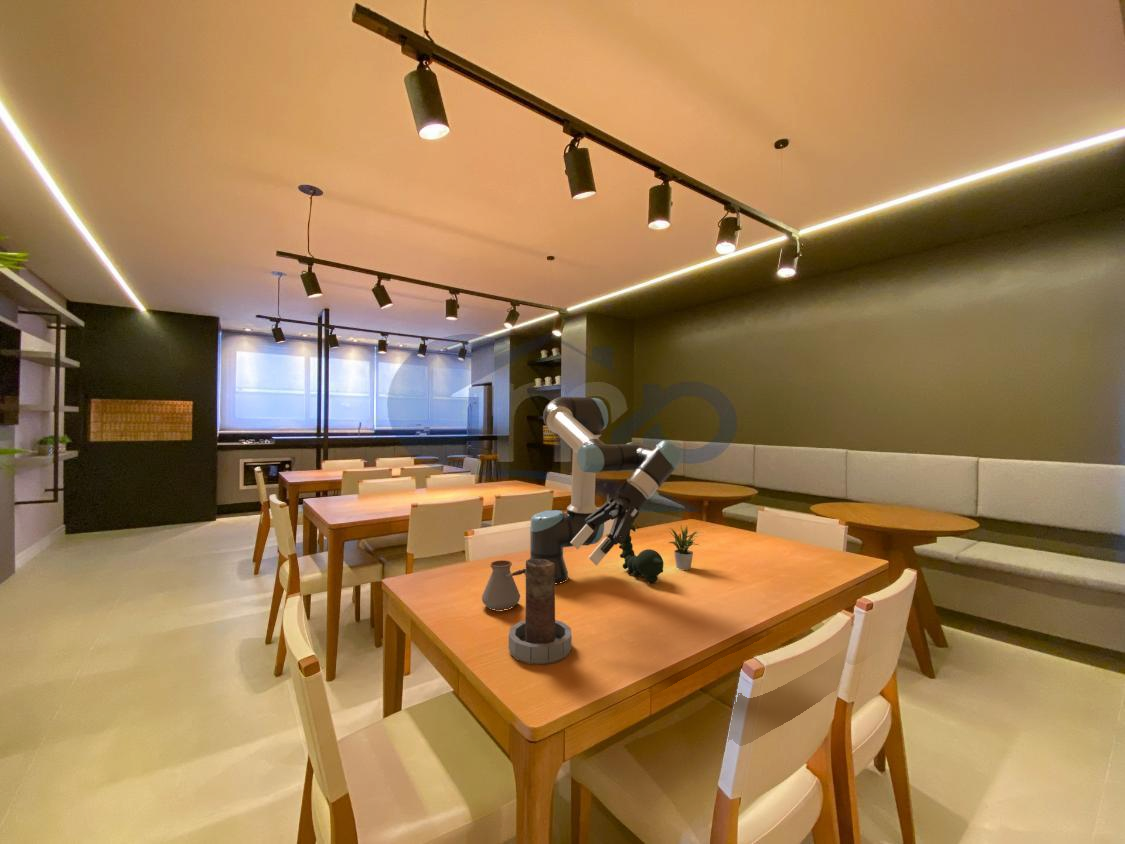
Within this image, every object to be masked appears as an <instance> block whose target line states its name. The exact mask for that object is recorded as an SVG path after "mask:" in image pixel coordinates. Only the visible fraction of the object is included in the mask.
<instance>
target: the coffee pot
mask: <svg viewBox="0 0 1125 844" xmlns="http://www.w3.org/2000/svg"><path fill="white" fill-rule="evenodd" d="M511 566H513V562H511V561H510V560H503V559H502V560H494V561H492V562H491V563H490V567H491V570H492V572H491V574H490V576H489V580H488V581H487V584H486V586H485V588H484V591H483V593H482V596H481V601H482V603H483V604H484V606H485V607H487V608H488V609H489V608H491V609H495V610H504V609H509V608H511V607H513V606H516V605H517V604H518V603H519V601H520V599H521V594H520V592H519V589H518V586H517V584H516V582H515V579H514V577H513V576H521V575H522V574H524V577H525V576H526V575H525V573H526V568H523V569H518V570H516V571H514V572H511ZM513 608H514V607H513Z"/></svg>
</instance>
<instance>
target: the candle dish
mask: <svg viewBox="0 0 1125 844" xmlns="http://www.w3.org/2000/svg"><path fill="white" fill-rule="evenodd" d="M572 639H573V637H572V627H570V626H569V625H567V624H566V623H565V622H563V621H561V620H558V619H557V620H556V619H555V641H554V642H551V643H547V644H532V643H528V642H526V641H525V620H522V621H518V622H517V623H516V624H514V625H513V626H512V627H510V628H509V631H508V651H510V652H509V654H510V653H511V654H510V655H512V656H513V657H514V658H513V657H512V656H511V657H512V658H513V659H515V658H516V659H518V660H519V661H518V660H517V661H518V662H520V661H522V662H521V663H523V662H525V663H524V664H527V663H530V664H529V665H534V664H544V665H550V663H551V664H554V662H555V663H558V662H561V661H562V659H563V660H564V659H566V658H567V657H569V655H570V654H571V652H570V651H572ZM569 653H570V654H569ZM565 657H566V658H565ZM516 659H515V660H516ZM557 661H558V662H557Z"/></svg>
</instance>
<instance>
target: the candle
mask: <svg viewBox="0 0 1125 844" xmlns="http://www.w3.org/2000/svg"><path fill="white" fill-rule="evenodd" d="M525 569H526V579H525V615H524V616H525V619H524V621H525V641H526V642H528V643H532V644H547V643H551V642H554V641H555V620H556V598H555V597H556V593H555V592H556V590H555V589H556V585H555V564H554V563H552V562H550V561H548V560H545V559H530V558H528V559H526V560H525Z"/></svg>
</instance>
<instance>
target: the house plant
mask: <svg viewBox="0 0 1125 844" xmlns="http://www.w3.org/2000/svg"><path fill="white" fill-rule="evenodd" d="M668 528H669V529H670V530H671V532H670V534H671V535H672V536H673V538H674V539H675V540H674V541H669V542H668V544H673V545H674V546H675V547H676V549H675V550H674V551H673V553H674V559H675V564H676V567H675V568H676V569H677V568H679V569H678V570H680V569H684V570H683V571H688V570H687V569H690V568H691V567H692V562H693V556H694V551H692V550H690V549H689V548H690V547H691V546H692V545H694V546H696V545H697V546H699V543H696V541H695V540H697V538H698V537H699V536H695V535H697V534H703V531H702V532H699V531H700V529H697V530H695V531H694V532H693V533H691V534H690V535H688V532H689V529H688V526H687V525H686V527H684V529H683V527H682V526H680V530H681V532H680V533H679V534H677V532H676V531H675V530H674V529H673V528H671V527H668ZM694 541H695V542H694ZM694 546H692V547H691V549H693V547H694ZM690 570H691V569H690Z"/></svg>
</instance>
